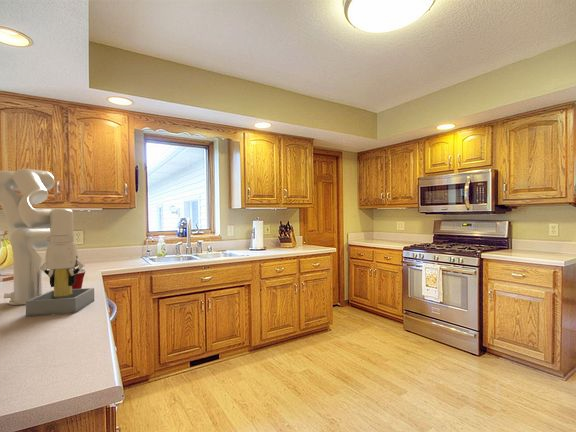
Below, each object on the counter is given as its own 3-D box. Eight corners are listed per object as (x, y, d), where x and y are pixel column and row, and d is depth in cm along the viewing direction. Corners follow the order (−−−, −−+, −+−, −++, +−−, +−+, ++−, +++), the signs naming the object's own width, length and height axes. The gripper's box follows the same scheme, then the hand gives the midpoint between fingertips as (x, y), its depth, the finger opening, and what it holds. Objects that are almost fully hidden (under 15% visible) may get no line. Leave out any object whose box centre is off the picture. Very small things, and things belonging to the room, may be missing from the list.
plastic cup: (72, 299, 137) (72, 272, 137) (51, 298, 139) (51, 271, 139) (92, 293, 148) (92, 268, 148) (73, 293, 150) (72, 267, 150)
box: (25, 316, 113) (25, 301, 113) (51, 303, 131) (51, 290, 131) (75, 313, 117) (75, 298, 117) (94, 300, 134) (94, 287, 135)
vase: (50, 297, 120) (49, 260, 120) (57, 294, 126) (56, 258, 126) (68, 296, 122) (68, 259, 122) (74, 292, 128) (74, 257, 128)
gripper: (31, 241, 119) (32, 289, 118) (82, 239, 122) (83, 286, 122) (42, 240, 126) (43, 285, 126) (90, 238, 130) (91, 282, 129)
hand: (63, 285), depth 124 cm, fingers closed on vase, 5 cm apart
